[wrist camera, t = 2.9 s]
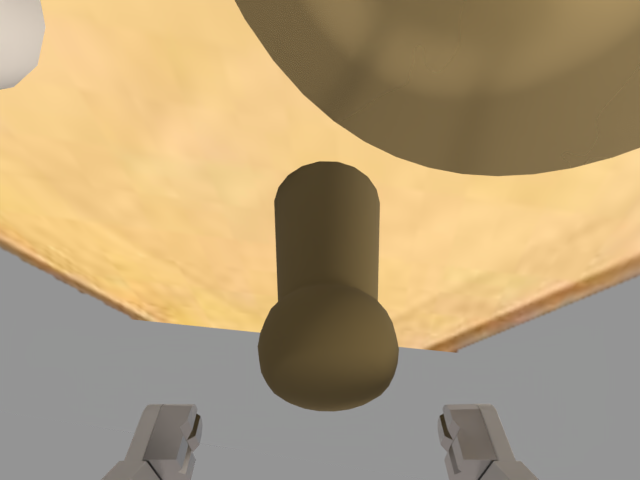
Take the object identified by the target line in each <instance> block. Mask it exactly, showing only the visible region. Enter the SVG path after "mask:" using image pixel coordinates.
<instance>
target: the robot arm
mask: <svg viewBox="0 0 640 480" xmlns="http://www.w3.org/2000/svg"><path fill="white" fill-rule="evenodd" d="M197 410H198V409H197V407H196V405H195V404H150V405H147V406H146V408H145V409H144V411H143V413H142V415H141V418H140V420H139V423H138V426H137V428H136V431H135V433H134V436H133V439H132V441H131V444H130V447H129V449H128V452H127V454H126V457H125V459H124V461H119V462H118V463H117V464H116V465H115V466H114V467H113V468H112V469H111V470H110V471H109V472H108V473H107V474H106V475H105V476H104V477H103V478H102V479H101V480H191V477H192V473H193V469H194V465H195V461H196V459H195V456H194V454H193V451H194V450H195V449H196V448H197V447H198V446H199V445H200V440H201V436H202V426H203V425H202V418H201V416H200V415H198V414H197ZM442 410H443V414H442V415H440V416H439V419H438V436H439V440H440V445H441V446H442V447H443V448H444V449H445V450H446V451H447V454H446V456H445V459H444V461H445V465H446V469H447V473H448V477H449V480H539V479H538V478H537V477H536V476H535V475H534V474H533V473H532V472H531V471H530V470H529V469H528V468H527V467H526V466H525V465H524V464H523V463H522V462H521V461H516V459H515V457H514V454H513V452H512V449H511V447H510V444H509V441H508V439H507V436H506V434H505V431H504V429H503V426H502V423H501V421H500V418H499V416H498V413H497V411H496V409H495V407H494V406H493V405H491V404H454V405H444V407H443V409H442Z"/></svg>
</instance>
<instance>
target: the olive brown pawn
mask: <svg viewBox="0 0 640 480" xmlns="http://www.w3.org/2000/svg"><path fill="white" fill-rule="evenodd" d="M274 211H275V238H276V264H277V290H278V302H277V303H276V304H275V305H274V306H273V307H272V308H271V309H270V311H269V313H268V316H267V318H266V320H265V322H264V324H263V327H262V330H261V332H260V336H259V342H258V355H259V363H260V369H261V373H262V375H263V377H264V379H265V381H266V383H267V385H268V386H269V387H270V389H271V390H272V391H273V393H274V394H276V395H277V396H279V397H280V398H282V399H283V400H285V401H286V402H288V403H290V404H293V405H296V406H298V407H301V408H304V409H309V410H315V411H342V410H349V409H353V408H356V407H359V406H362V405H364V404H367V403H368V402H370V401H372V400H374V399H375V398H377V397H379V396H381V395H382V393H383V392H384V391H385V390H386V389H387V388H388V387H389V385H390V383H391V381H392V379H393V377H394V375H395V371H396V368H397V364H398V355H399V346H398V341H397V337H396V333H395V329H394V326H393V322H392V321H391V319H390V317H389V315H388V313H387V311H386V310H385V309H384V308H383V306H382V305H381V304H380V303H379V302H378V271H379V226H380V201H379V197H378V193H377V189H376V188H375V186H374V185H373V183H372V182H371V180H370V179H369V177H368V176H366V175H365V174H364V173H362V172H361V171H359V170H358V169H357V168H355V167H353V166H350V165H347V164H343V163H340V162H332V161H318V162H315V163H311V164H308V165H304V166H301V167H300V168H298V169H297V170H295V171H294V172H292V173H290V174H289V175H288V176H287V177H286V178H285V180H284V181H283V182H282V183H281V185H280V186H279V187H278V190H277V193H276V197H275V200H274Z"/></svg>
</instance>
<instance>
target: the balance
mask: <svg viewBox="0 0 640 480" xmlns="http://www.w3.org/2000/svg"><path fill="white" fill-rule="evenodd" d="M235 2H236V4H237V6H238V8H239V9H240V11H241V13H242V15H243V17H244V19H245V20H246V22H247V23H248V25H249V26H250V28H251V29H252V30H253V32H254V33H255V35H256V36H257V38H258V39H259V41H260V42H261V44H262V45H263V46H264V48H265V49H266V51H267V52H268V54H269V55H270V57H271V58H272V59H273V61H274V62H275V63H276V64H277V65H278V67H279V68H280V69H281V70H282V71H283V72H284V73H285V74H286V76H287V77H288V78H289V79H290V80H291V81H292V82H293V84H294V85H295V86H296V87H297V88H298V89H299V90H300V91H301V93H302V94H303V95H304V96H305V97H307V98H308V99H309V100H310V101H311V102H312V103H313V104H315V105H316V106H317V107H318V108H319V109H320V110H321V111H323V112H324V113H325V114H326V115H327V116H328V117H329V118H331V119H332V120H333V121H334V122H336V123H337V124H339V125H340V126H342V127H343V128H345V129H346V130H348V131H349V132H351V133H352V134H354V135H355V136H357V137H358V138H360V139H361V140H363V141H364V142H366V143H368V144H370V145H372V146H374V147H376V148H379V149H381V150H383V151H385V152H387V153H389V154H391V155H393V156H395V157H398V158H401V159H404V160H407V161H410V162H413V163H416V164H419V165H422V166H425V167H428V168H433V169H438V170H443V171H449V172H454V173H459V174H469V175H485V176H512V175H531V174H539V173H545V172H551V171H558V170H564V169H570V168H575V167H578V166H582V165H586V164H590V163H594V162H598V161H601V160H605V159H609V158H613V157H616V156H618V155H621V154H624V153H627V152H630V151H632V150H635V149H638V148H640V0H235Z"/></svg>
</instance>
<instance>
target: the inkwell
mask: <svg viewBox="0 0 640 480" xmlns="http://www.w3.org/2000/svg"><path fill="white" fill-rule="evenodd" d="M44 32H45V22H44V17H43V11H42V6H41V1H40V0H0V90H1V89H7V88H12V87H14V86H15V85H17V84H18V83H19V82H20V81H21V80H22V79H23V78H24V77H25V76H26V75H28V74H29V73H30V72H31V71H32V70H33V69H34V68H35V67H36V66H37V65H38V61H39V56H40V51H41V46H42V41H43V37H44Z"/></svg>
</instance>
